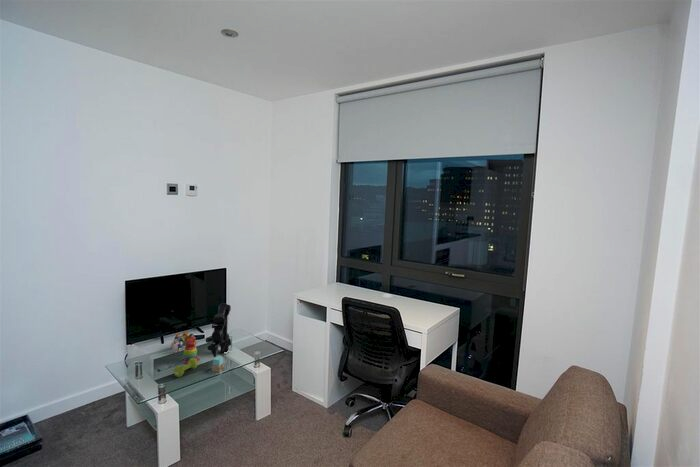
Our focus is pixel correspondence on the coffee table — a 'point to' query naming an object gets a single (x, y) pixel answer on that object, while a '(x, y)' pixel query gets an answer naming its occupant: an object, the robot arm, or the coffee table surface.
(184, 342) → the doll family
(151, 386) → the coffee table surface
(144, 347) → the coffee table surface
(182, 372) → the dumbbell
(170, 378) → the coffee table surface
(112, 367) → the coffee table surface
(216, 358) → the teal brick
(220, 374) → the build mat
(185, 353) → the stacking bear
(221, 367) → the walnut brick
